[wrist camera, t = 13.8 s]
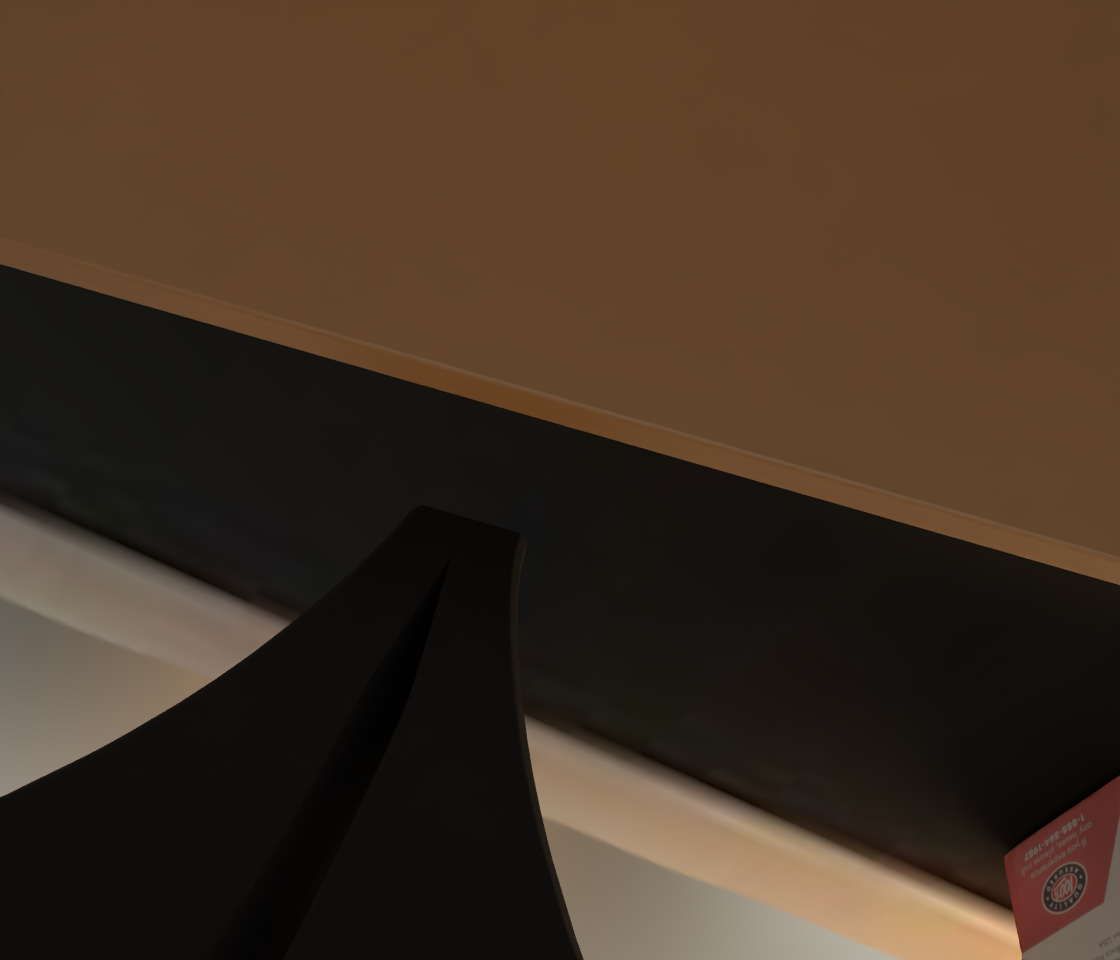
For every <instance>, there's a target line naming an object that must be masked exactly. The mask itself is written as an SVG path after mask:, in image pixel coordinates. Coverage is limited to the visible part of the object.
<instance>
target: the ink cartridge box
mask: <svg viewBox="0 0 1120 960" xmlns="http://www.w3.org/2000/svg"><path fill="white" fill-rule="evenodd" d="M1004 865H1005V871H1006V876H1007V881H1008V885H1009V890H1010V896H1011V902H1012V907H1013V912H1014V917H1015V923H1016V928H1017V933H1018V937H1019V943H1020V948H1021V952H1022V960H1120V775H1119V776H1118V777H1116V778H1115V779H1113V780H1111V781H1110V782H1109V783H1107V784H1106V785H1105V786H1103V787H1102V788H1100V789H1099V790H1097V791H1096V792H1094V793H1093V794H1092V795H1090V796H1089V797H1087V798H1085V799H1084V800H1082V801H1081V802H1080V803H1078V804H1077V805H1075V806H1074V807H1072V808H1071V809H1069V810H1068V811H1066V812H1064V813H1063V814H1062V815H1060V816H1059V817H1058V818H1056V819H1055V820H1053V821H1051V822H1050V823H1048V824H1047V825H1045V826H1044V827H1043V828H1041V829H1040V830H1038V831H1037V832H1035V833H1034V834H1033V835H1031V836H1030V837H1028V838H1027V839H1025V840H1024V841H1022V842H1021V843H1019V844H1018V845H1017V846H1016V847H1015V848H1013V849H1012V850H1011V851H1010V852H1009V853H1008V854H1006V855H1005V856H1004Z"/></svg>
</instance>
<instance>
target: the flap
mask: <svg viewBox="0 0 1120 960" xmlns="http://www.w3.org/2000/svg"><path fill="white" fill-rule="evenodd" d="M0 264H2V265H6V266H9V267H13V268H16V269H20V270H23V271H27V272H30V273H34V274H37V275H41V276H44V277H48V278H51V279H55V280H58V281H62V282H65V283H69V284H72V285H76V286H79V287H83V288H86V289H90V290H93V291H97V292H100V293H104V294H107V295H110V296H114V297H117V298H121V299H124V300H128V301H131V302H135V303H138V304H142V305H145V306H149V307H152V308H156V309H159V310H163V311H166V312H170V313H173V314H177V315H180V316H184V317H187V318H191V319H194V320H198V321H201V322H205V323H208V324H212V325H215V326H219V327H222V328H226V329H229V330H233V331H236V332H240V333H243V334H247V335H250V336H254V337H257V338H260V339H264V340H267V341H271V342H274V343H278V344H281V345H285V346H288V347H292V348H295V349H299V350H302V351H306V352H309V353H313V354H316V355H320V356H323V357H327V358H330V359H334V360H337V361H341V362H344V363H348V364H351V365H355V366H358V367H362V368H365V369H369V370H372V371H376V372H379V373H383V374H386V375H390V376H393V377H397V378H400V379H403V380H407V381H410V382H414V383H417V384H421V385H424V386H428V387H431V388H435V389H438V390H442V391H445V392H449V393H452V394H456V395H459V396H463V397H466V398H470V399H473V400H477V401H480V402H484V403H487V404H491V405H494V406H498V407H501V408H505V409H508V410H512V411H515V412H519V413H522V414H526V415H529V416H533V417H536V418H540V419H543V420H547V421H550V422H553V423H557V424H560V425H564V426H567V427H571V428H574V429H578V430H581V431H585V432H588V433H592V434H595V435H599V436H602V437H606V438H609V439H613V440H616V441H620V442H623V443H627V444H630V445H634V446H637V447H641V448H644V449H648V450H651V451H655V452H658V453H662V454H665V455H669V456H672V457H676V458H679V459H683V460H686V461H690V462H693V463H696V464H700V465H703V466H707V467H710V468H714V469H717V470H721V471H724V472H728V473H731V474H735V475H738V476H742V477H745V478H749V479H752V480H756V481H759V482H763V483H766V484H770V485H773V486H777V487H780V488H784V489H787V490H791V491H794V492H798V493H801V494H805V495H808V496H812V497H815V498H819V499H822V500H826V501H829V502H833V503H836V504H839V505H843V506H846V507H850V508H853V509H857V510H860V511H864V512H867V513H871V514H874V515H878V516H881V517H885V518H888V519H892V520H895V521H899V522H902V523H906V524H909V525H913V526H916V527H920V528H923V529H927V530H930V531H934V532H937V533H941V534H944V535H948V536H951V537H955V538H958V539H962V540H965V541H969V542H972V543H976V544H979V545H983V546H986V547H989V548H993V549H996V550H1000V551H1003V552H1007V553H1010V554H1014V555H1017V556H1021V557H1024V558H1028V559H1031V560H1035V561H1038V562H1042V563H1045V564H1049V565H1052V566H1056V567H1059V568H1063V569H1066V570H1070V571H1073V572H1077V573H1080V574H1084V575H1087V576H1091V577H1094V578H1098V579H1101V580H1105V581H1108V582H1112V583H1115V584H1119V585H1120V0H0Z"/></svg>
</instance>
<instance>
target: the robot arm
mask: <svg viewBox="0 0 1120 960" xmlns="http://www.w3.org/2000/svg"><path fill="white" fill-rule="evenodd" d="M526 547H527V542H526V541H525V539H524V538H523V536H522V535H521V533H517V532H514V531H511V530H507V529H504V528H500V527H497V526H493V525H490V524H486V523H483V522H479V521H476V520H472V519H469V518H465V517H462V516H458V515H455V514H451V513H448V512H445V511H441V510H438V509H434V508H431V507H427V506H424V505H421V506H419V507H417V508H414V509H412V510H411V511H410V512H409V513H408V515H407V516H406V517H405V518H404V519H403V520H402V522H401V523H400V524H399V525H398V526H397V527H396V528H395V529H394V530H393V531H392V532H391V533H390V535H389V536H388V537H387V538H386V539H385V540H384V541H383V542H382V543H381V544H380V545H379V546H378V547H377V548H376V549H375V550H374V551H373V552H372V553H371V554H370V555H369V556H368V557H367V558H365V559H364V560H363V561H362V562H361V563H360V564H359V565H358V566H357V567H356V568H355V569H354V570H353V571H352V572H351V573H350V574H348V575H347V576H346V577H345V578H344V579H343V580H342V581H340V582H339V583H338V584H337V585H336V586H335V587H334V588H333V589H331V590H330V591H329V592H328V593H327V594H326V595H325V596H323V597H322V598H321V599H320V600H319V601H318V602H317V603H315V604H314V605H313V606H312V607H311V608H310V609H308V610H307V611H306V612H305V613H304V614H302V615H301V616H300V617H299V618H297V619H296V620H295V621H293V622H292V623H291V624H290V625H288V626H287V627H286V628H284V629H283V630H282V631H281V632H279V633H278V634H277V635H275V636H274V637H273V638H272V639H270V640H269V641H268V642H266V643H265V644H264V645H263V646H261V647H260V648H259V649H257V650H256V651H255V652H253V653H252V654H251V655H249V656H248V657H247V658H245V659H244V660H242V661H241V662H240V663H238V664H237V665H235V666H234V667H232V668H231V669H230V670H228V671H227V672H225V673H224V674H222V675H221V676H219V677H218V678H217V679H215V680H214V681H212V682H211V683H209V684H207V685H206V686H204V687H203V688H201V689H200V690H198V691H197V692H195V693H194V694H192V695H191V696H189V697H188V698H186V699H184V700H183V701H182V702H180V703H178V704H176V705H175V706H173V707H171V708H170V709H168V710H166V711H165V712H163V713H161V714H159V715H158V716H156V717H154V718H153V719H151V720H149V721H148V722H146V723H144V724H142V725H141V726H139V727H137V728H136V729H134V730H132V731H131V732H129V733H127V734H125V735H124V736H122V737H120V738H118V739H116V740H114V741H113V742H111V743H109V744H107V745H105V746H104V747H102V748H100V749H98V750H96V751H94V752H92V753H90V754H88V755H87V756H85V757H82V758H80V759H78V760H76V761H74V762H72V763H71V764H68V765H66V766H64V767H62V768H60V769H58V770H56V771H54V772H52V773H50V774H48V775H46V776H43V777H41V778H39V779H37V780H35V781H33V782H31V783H29V784H27V785H25V786H23V787H21V788H19V789H17V790H15V791H13V792H11V793H9V794H7V795H4V796H2V797H0V960H583V957H582V954H581V951H580V948H579V945H578V943H577V940H576V937H575V934H574V930H573V927H572V924H571V920H570V917H569V914H568V910H567V907H566V904H565V900H564V897H563V894H562V890H561V887H560V884H559V881H558V877H557V874H556V870H555V867H554V864H553V860H552V856H551V853H550V849H549V845H548V841H547V836H546V832H545V828H544V824H543V820H542V815H541V811H540V806H539V801H538V796H537V792H536V787H535V782H534V777H533V771H532V766H531V760H530V754H529V748H528V741H527V734H526V727H525V719H524V711H523V703H522V693H521V683H520V667H519V649H518V594H519V582H520V573H521V566H522V563H523V559H524V555H525V551H526Z"/></svg>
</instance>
